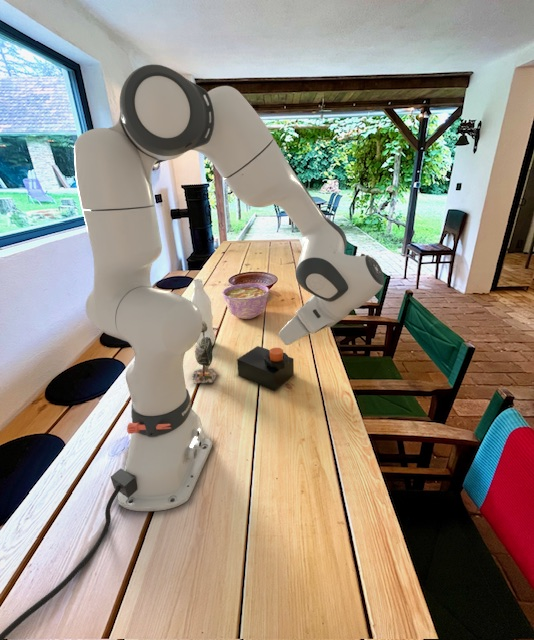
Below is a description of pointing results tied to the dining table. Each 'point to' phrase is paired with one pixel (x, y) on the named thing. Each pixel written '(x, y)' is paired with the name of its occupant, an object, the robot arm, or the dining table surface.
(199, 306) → the water bottle
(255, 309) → the bowl of food
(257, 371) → the black button box
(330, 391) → the dining table surface
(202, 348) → the plant with pod
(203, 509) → the dining table surface
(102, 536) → the robot arm
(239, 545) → the dining table surface
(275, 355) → the round orange button
